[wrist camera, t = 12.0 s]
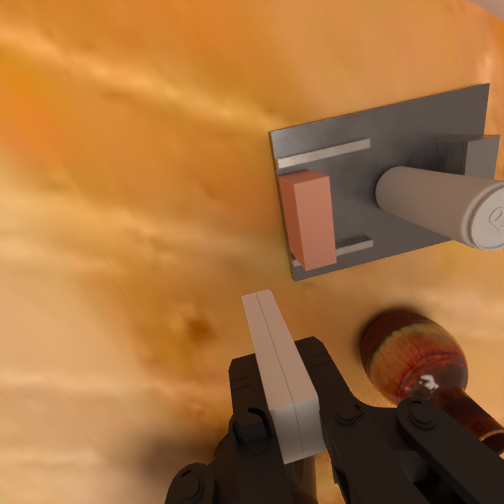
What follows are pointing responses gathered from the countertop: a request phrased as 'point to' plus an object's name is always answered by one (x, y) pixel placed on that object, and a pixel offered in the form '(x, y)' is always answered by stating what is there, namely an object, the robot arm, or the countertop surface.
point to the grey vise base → (385, 166)
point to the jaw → (309, 217)
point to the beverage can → (446, 204)
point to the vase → (425, 370)
